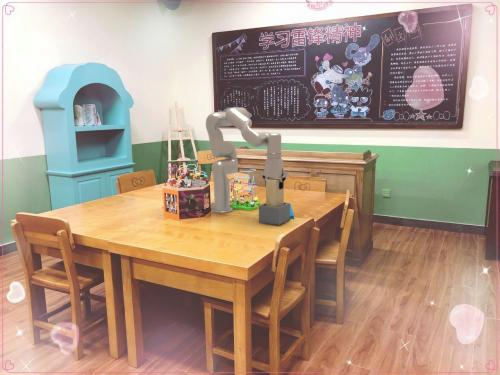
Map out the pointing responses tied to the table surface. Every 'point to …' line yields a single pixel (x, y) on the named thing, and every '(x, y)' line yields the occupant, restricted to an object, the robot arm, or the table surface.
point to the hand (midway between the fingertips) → (274, 188)
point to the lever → (291, 212)
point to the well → (274, 214)
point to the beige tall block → (274, 193)
